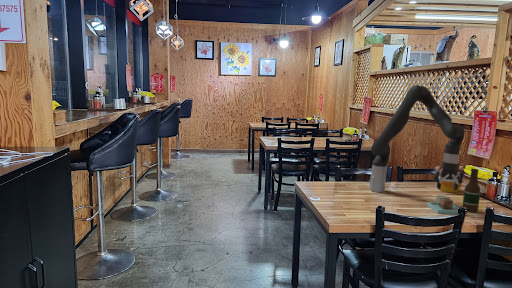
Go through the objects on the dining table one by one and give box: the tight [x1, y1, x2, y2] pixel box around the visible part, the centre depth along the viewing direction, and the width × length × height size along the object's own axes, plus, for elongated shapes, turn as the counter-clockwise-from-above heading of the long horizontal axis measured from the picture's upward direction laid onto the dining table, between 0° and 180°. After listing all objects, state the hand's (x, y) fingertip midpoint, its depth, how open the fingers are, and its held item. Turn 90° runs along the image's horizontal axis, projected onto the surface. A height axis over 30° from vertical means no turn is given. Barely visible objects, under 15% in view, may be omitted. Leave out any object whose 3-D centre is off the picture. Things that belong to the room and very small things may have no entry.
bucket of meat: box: [434, 161, 467, 194], centre depth 236 cm, size 20×16×20 cm
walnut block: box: [439, 198, 454, 210], centre depth 195 cm, size 5×5×5 cm
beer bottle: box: [461, 168, 481, 214], centre depth 194 cm, size 8×8×24 cm
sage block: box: [435, 194, 451, 203], centre depth 206 cm, size 5×5×5 cm
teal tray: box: [426, 201, 460, 215], centre depth 196 cm, size 14×14×2 cm
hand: (446, 189), depth 194 cm, fingers open, 8 cm apart
